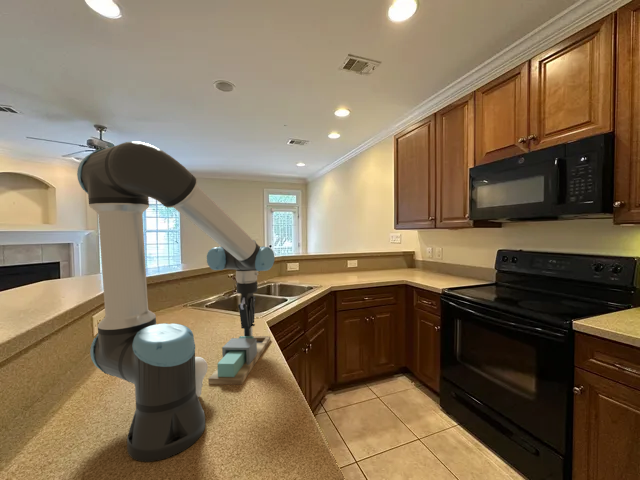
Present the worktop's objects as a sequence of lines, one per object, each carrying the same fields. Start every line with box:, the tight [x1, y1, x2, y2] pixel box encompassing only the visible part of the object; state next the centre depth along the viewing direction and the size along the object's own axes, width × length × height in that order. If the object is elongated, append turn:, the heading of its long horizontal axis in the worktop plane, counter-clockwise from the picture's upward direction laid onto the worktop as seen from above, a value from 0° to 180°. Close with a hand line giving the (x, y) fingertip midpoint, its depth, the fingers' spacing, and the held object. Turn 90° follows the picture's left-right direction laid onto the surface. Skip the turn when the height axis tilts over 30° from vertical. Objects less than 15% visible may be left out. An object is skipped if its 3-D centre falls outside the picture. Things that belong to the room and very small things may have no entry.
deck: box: [208, 335, 272, 386], centre depth 100 cm, size 34×10×2 cm, turn 176°
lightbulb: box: [195, 356, 209, 398], centre depth 77 cm, size 6×6×11 cm
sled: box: [217, 335, 255, 377], centre depth 94 cm, size 19×5×5 cm, turn 176°
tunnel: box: [221, 337, 257, 365], centre depth 96 cm, size 8×9×6 cm
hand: (248, 344), depth 105 cm, fingers closed
